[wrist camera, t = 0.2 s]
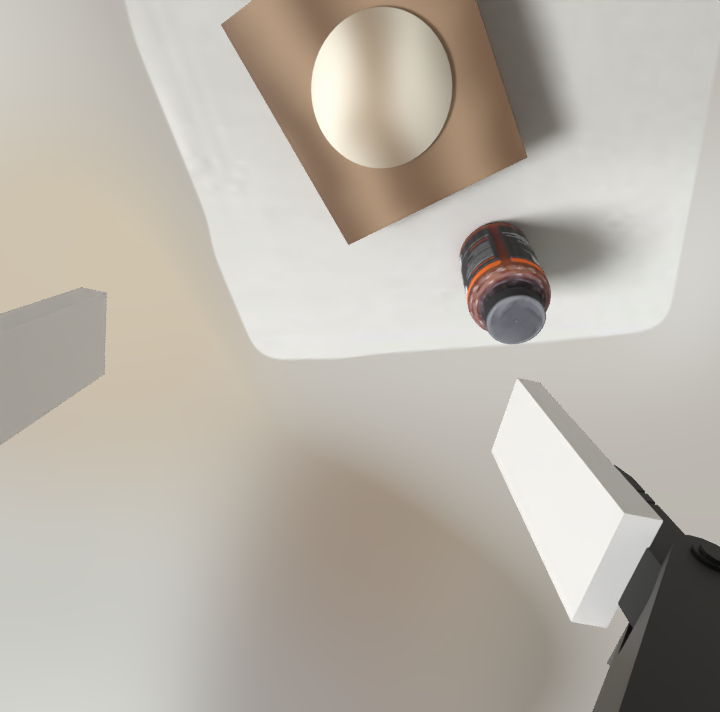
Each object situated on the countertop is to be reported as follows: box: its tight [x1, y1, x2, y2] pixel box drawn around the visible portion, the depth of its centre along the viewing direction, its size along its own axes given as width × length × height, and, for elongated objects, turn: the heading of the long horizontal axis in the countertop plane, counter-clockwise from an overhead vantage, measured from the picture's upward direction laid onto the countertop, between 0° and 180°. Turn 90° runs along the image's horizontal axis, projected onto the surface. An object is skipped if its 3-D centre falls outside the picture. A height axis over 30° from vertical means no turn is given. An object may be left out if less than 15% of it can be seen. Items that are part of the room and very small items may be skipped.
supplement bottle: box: [460, 223, 551, 344], centre depth 36 cm, size 6×6×11 cm
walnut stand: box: [221, 0, 527, 245], centre depth 32 cm, size 14×16×5 cm
